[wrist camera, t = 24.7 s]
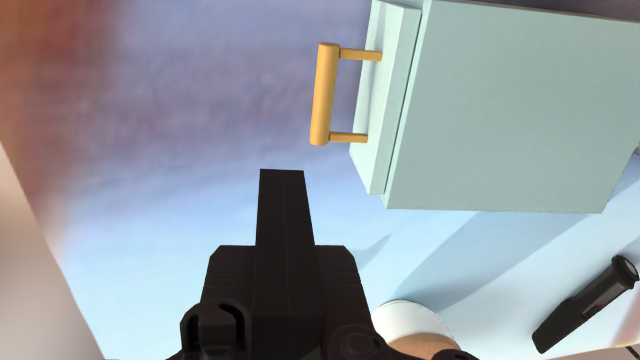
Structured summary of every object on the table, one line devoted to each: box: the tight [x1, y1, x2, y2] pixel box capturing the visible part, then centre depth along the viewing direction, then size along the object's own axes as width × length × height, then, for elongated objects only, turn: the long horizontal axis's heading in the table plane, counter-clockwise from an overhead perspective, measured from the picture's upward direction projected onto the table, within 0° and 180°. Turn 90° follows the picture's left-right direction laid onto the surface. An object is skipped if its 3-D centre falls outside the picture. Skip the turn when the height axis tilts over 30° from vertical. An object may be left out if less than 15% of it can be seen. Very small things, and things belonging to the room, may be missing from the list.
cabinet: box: [380, 0, 640, 214], centre depth 30 cm, size 18×14×9 cm
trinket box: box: [371, 300, 462, 360], centre depth 43 cm, size 11×11×9 cm
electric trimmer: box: [532, 254, 640, 354], centre depth 48 cm, size 4×16×3 cm, turn 144°
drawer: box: [310, 0, 422, 195], centre depth 30 cm, size 21×13×7 cm, turn 84°
